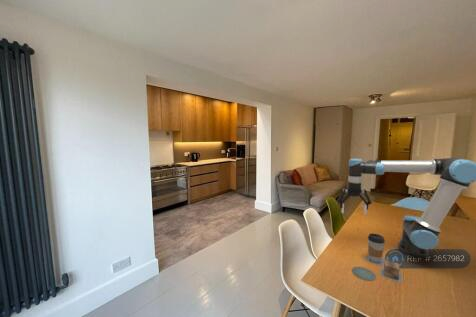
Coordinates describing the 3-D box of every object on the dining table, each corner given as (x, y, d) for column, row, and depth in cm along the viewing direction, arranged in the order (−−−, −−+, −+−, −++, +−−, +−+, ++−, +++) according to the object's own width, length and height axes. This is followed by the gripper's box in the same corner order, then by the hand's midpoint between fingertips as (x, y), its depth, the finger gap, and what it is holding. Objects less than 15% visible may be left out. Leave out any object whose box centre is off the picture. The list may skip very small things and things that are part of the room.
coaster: (377, 273, 111) (377, 272, 111) (373, 284, 103) (373, 283, 103) (354, 265, 118) (355, 264, 118) (349, 274, 110) (349, 273, 110)
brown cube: (397, 273, 110) (398, 263, 110) (398, 280, 105) (399, 269, 105) (383, 269, 113) (384, 259, 113) (384, 276, 109) (385, 265, 108)
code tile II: (402, 275, 110) (402, 274, 110) (400, 283, 103) (400, 283, 103) (382, 267, 116) (382, 267, 116) (379, 275, 109) (379, 275, 109)
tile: (385, 260, 123) (385, 259, 123) (382, 267, 116) (382, 266, 116) (367, 254, 129) (367, 254, 129) (364, 260, 123) (364, 260, 123)
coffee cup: (363, 256, 127) (364, 233, 125) (376, 255, 127) (377, 232, 126) (373, 264, 118) (375, 240, 117) (386, 263, 119) (388, 239, 117)
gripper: (373, 181, 134) (372, 212, 136) (332, 180, 140) (332, 210, 142) (378, 183, 127) (377, 216, 129) (335, 182, 133) (334, 214, 134)
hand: (353, 213), depth 135 cm, fingers open, 13 cm apart
